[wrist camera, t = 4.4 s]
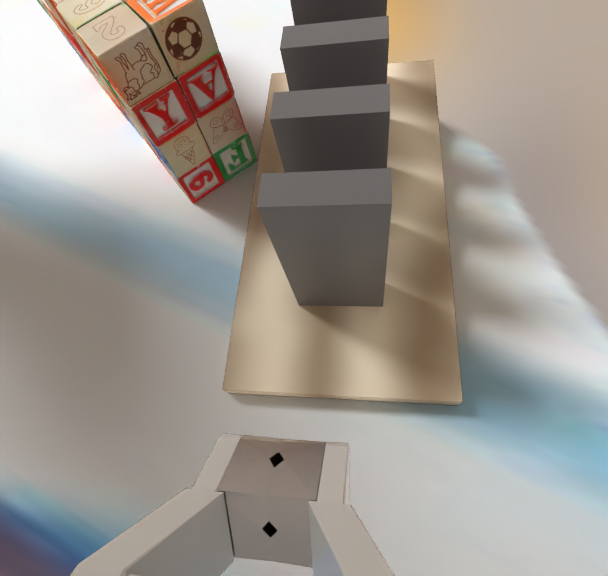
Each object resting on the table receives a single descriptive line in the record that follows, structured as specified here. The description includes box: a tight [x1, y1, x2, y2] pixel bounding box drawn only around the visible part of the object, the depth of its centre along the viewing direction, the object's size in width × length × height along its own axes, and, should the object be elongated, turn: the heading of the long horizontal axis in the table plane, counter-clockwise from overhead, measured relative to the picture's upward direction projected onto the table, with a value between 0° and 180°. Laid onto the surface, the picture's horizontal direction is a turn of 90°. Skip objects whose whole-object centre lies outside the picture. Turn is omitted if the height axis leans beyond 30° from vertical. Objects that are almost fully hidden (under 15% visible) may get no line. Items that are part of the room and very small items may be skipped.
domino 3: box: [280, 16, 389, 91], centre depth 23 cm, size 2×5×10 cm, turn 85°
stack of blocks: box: [37, 0, 257, 203], centre depth 29 cm, size 21×6×12 cm, turn 37°
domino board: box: [223, 60, 463, 405], centre depth 27 cm, size 13×26×1 cm, turn 175°
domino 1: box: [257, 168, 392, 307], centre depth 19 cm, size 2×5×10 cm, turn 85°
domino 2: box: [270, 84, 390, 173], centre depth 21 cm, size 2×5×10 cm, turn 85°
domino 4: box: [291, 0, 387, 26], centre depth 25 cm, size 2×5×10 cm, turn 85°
